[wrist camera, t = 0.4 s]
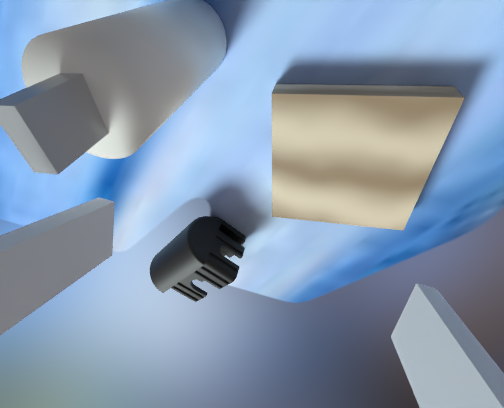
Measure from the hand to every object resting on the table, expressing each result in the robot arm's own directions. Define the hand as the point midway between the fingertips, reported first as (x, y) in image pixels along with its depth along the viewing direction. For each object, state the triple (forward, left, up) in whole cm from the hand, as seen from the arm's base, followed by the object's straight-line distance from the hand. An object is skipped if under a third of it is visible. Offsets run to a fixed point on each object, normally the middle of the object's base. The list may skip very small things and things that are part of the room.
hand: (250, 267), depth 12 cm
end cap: (+16, -10, -15) cm, 24 cm away
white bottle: (-6, -7, -14) cm, 17 cm away
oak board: (+3, +5, -14) cm, 16 cm away
